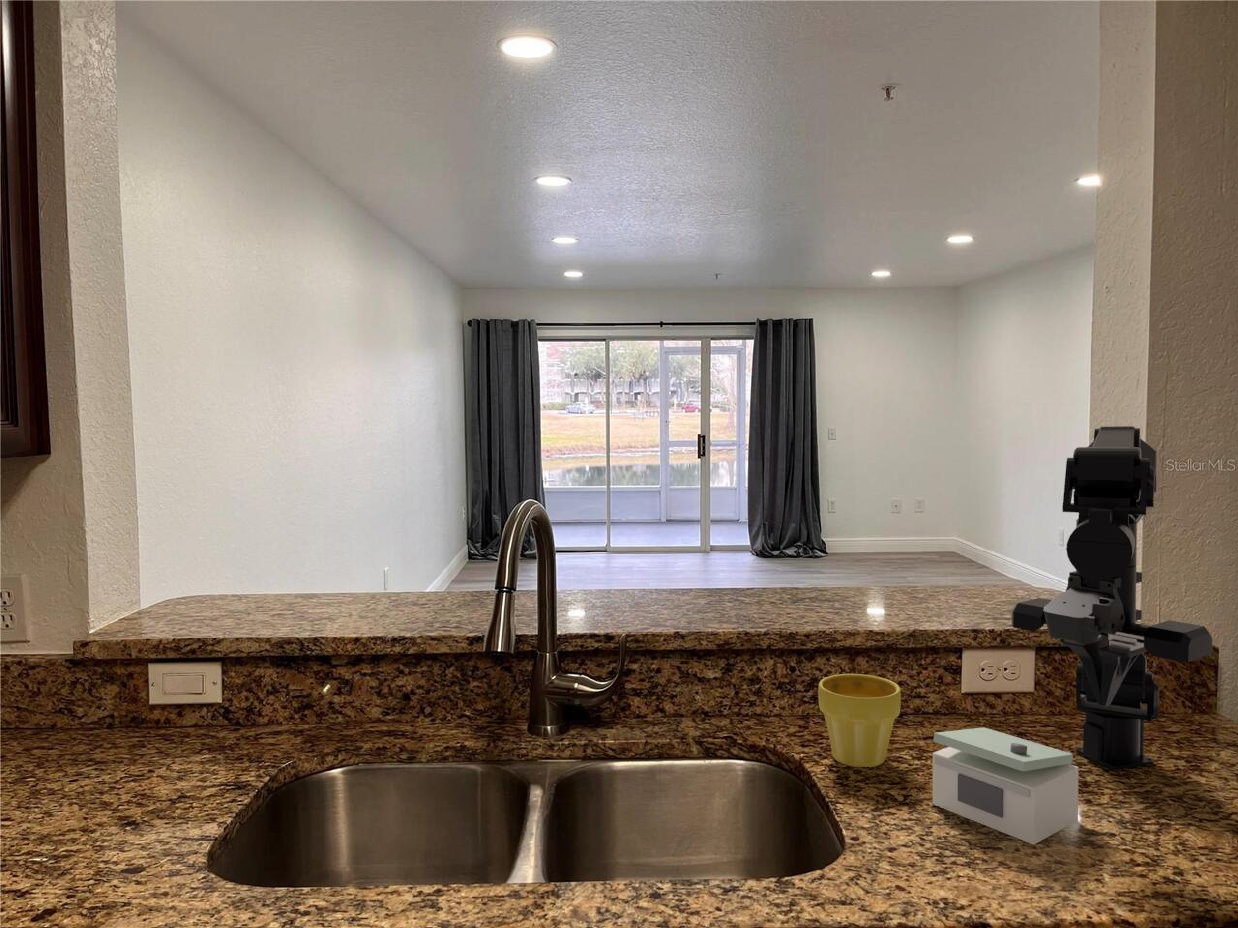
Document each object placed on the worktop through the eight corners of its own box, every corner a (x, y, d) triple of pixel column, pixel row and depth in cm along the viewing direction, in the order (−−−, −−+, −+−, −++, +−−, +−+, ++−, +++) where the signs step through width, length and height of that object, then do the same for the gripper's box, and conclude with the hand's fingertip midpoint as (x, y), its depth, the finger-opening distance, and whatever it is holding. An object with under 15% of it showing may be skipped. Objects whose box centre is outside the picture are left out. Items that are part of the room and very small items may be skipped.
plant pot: (905, 776, 107) (905, 699, 107) (819, 771, 109) (819, 695, 109) (896, 745, 118) (895, 674, 117) (817, 741, 120) (817, 671, 119)
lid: (983, 735, 104) (984, 720, 104) (1072, 763, 95) (1073, 746, 95) (933, 741, 98) (934, 725, 98) (1023, 771, 90) (1024, 753, 90)
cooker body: (977, 784, 105) (978, 735, 105) (1077, 820, 95) (1078, 766, 95) (930, 804, 99) (931, 753, 99) (1032, 845, 90) (1032, 788, 89)
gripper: (983, 560, 97) (982, 697, 98) (1162, 585, 82) (1159, 748, 82) (1039, 550, 103) (1038, 679, 104) (1215, 572, 88) (1213, 723, 89)
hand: (1104, 704), depth 95 cm, fingers closed
